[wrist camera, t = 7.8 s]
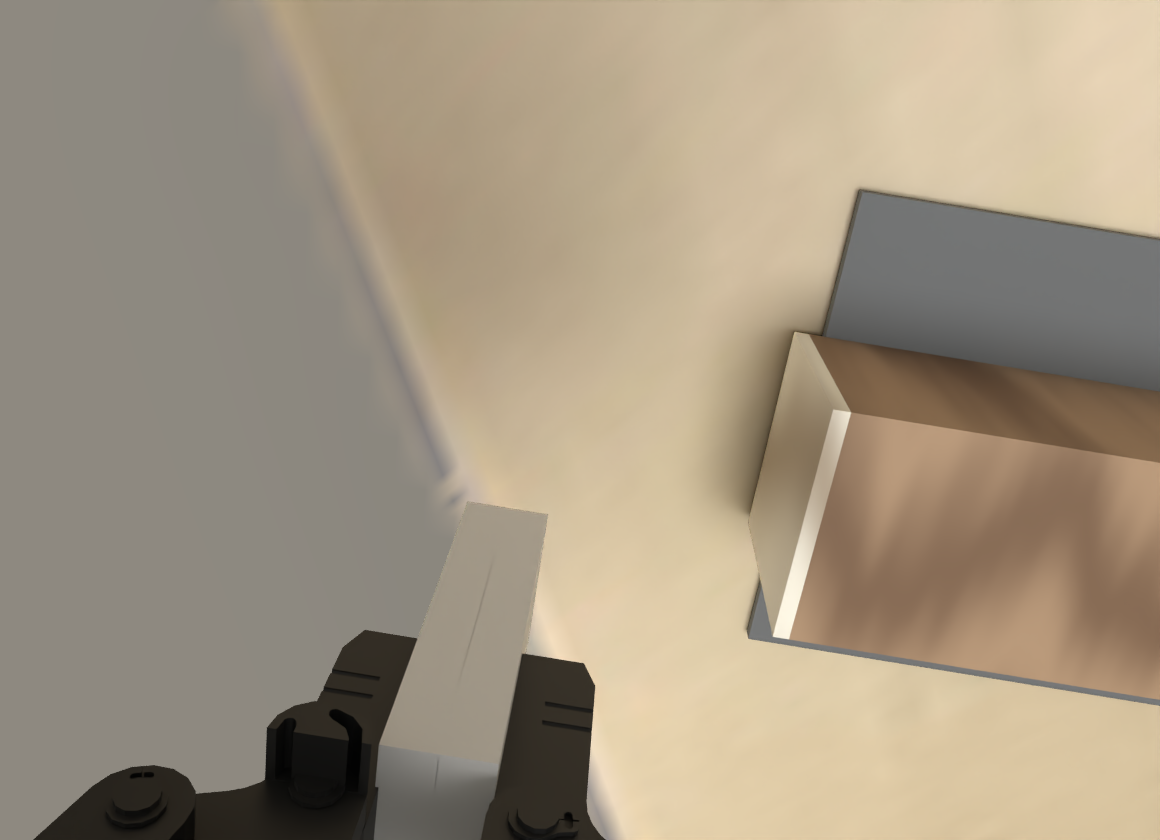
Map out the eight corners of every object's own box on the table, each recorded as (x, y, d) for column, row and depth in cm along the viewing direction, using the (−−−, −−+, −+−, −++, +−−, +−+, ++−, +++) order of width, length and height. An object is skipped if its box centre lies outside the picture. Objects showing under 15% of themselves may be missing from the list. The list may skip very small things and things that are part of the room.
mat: (859, 189, 26) (862, 192, 26) (1379, 275, 26) (1389, 278, 26) (747, 631, 32) (748, 638, 31) (1181, 702, 32) (1187, 710, 31)
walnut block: (833, 409, 22) (1369, 497, 22) (794, 331, 27) (1222, 401, 28) (772, 636, 24) (1259, 716, 24) (748, 522, 30) (1143, 586, 30)
